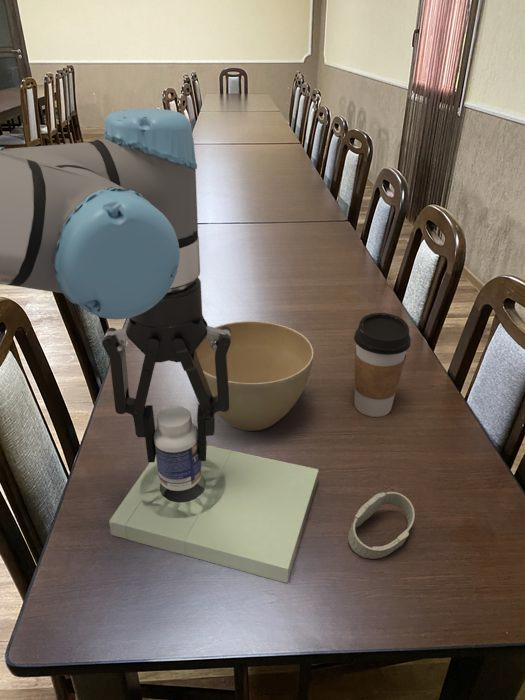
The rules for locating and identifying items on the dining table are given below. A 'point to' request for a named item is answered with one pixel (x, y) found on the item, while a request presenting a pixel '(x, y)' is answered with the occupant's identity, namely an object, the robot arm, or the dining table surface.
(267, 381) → the tan round bowl
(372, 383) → the coffee cup
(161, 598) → the dining table surface
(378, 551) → the wristwatch
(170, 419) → the pill bottle
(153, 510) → the pale green flat block
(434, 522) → the dining table surface
